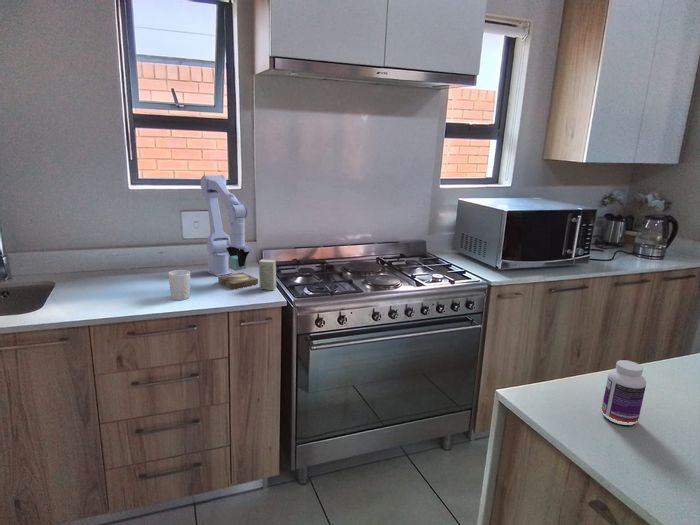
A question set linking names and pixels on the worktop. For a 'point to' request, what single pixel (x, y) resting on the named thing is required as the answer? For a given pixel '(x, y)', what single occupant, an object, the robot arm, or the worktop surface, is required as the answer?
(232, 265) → the teal block
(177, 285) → the white cup
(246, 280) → the walnut plinth
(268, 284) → the skincare box
